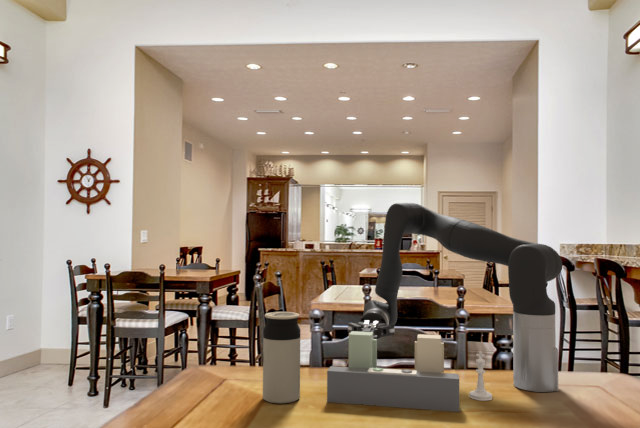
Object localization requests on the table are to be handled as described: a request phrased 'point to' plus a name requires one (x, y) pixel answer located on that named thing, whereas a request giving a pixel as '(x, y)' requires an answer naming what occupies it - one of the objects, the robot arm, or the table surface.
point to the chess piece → (480, 382)
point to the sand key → (429, 353)
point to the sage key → (362, 350)
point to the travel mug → (281, 358)
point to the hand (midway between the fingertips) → (366, 335)
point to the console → (393, 388)
